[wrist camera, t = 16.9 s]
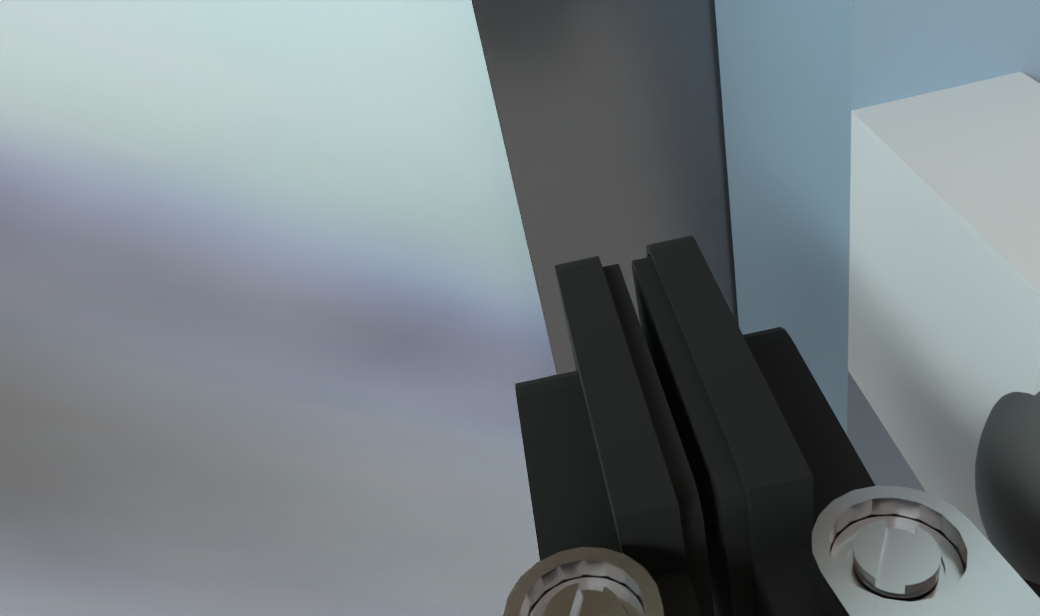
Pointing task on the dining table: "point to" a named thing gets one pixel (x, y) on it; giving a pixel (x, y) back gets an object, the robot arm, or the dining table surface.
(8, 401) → the dining table surface
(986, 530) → the slide jaw
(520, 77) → the vise
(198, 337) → the dining table surface
